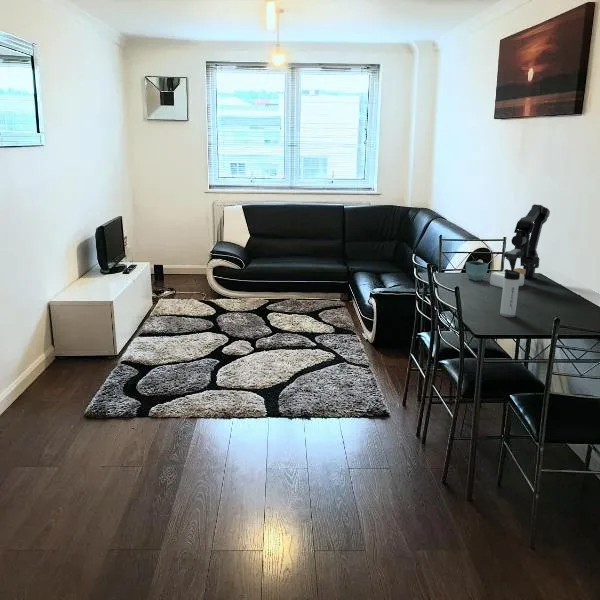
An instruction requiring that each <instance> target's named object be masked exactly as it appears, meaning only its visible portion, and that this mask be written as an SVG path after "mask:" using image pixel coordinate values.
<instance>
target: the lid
mask: <svg viewBox="0 0 600 600" xmlns="http://www.w3.org/2000/svg"><path fill="white" fill-rule="evenodd" d="M514 271H517V272H519V273H520V277H522V276H524V274H525V272H526V269H523V267H522V268H521V267H517V268H514ZM491 275H493V276H497V277H501V278H504V276H505V271H504V270H503V271H502V270H501V271H496V272H491V274H490V276H491Z"/></svg>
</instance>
